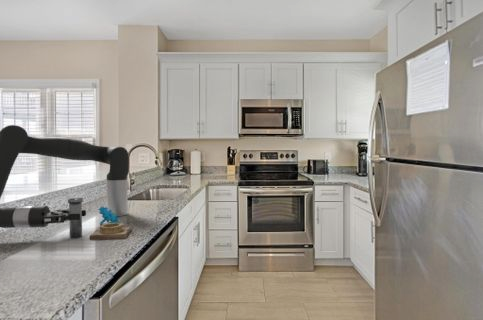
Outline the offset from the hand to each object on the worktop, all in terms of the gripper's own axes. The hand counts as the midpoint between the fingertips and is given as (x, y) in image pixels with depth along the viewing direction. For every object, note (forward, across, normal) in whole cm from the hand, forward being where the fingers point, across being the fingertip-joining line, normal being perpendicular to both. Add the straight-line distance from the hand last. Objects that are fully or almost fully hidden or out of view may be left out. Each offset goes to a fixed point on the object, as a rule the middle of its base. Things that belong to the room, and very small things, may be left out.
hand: (82, 214), depth 114 cm
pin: (-2, 0, +8) cm, 8 cm away
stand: (+10, +1, +8) cm, 12 cm away
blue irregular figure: (+5, +19, +8) cm, 21 cm away
